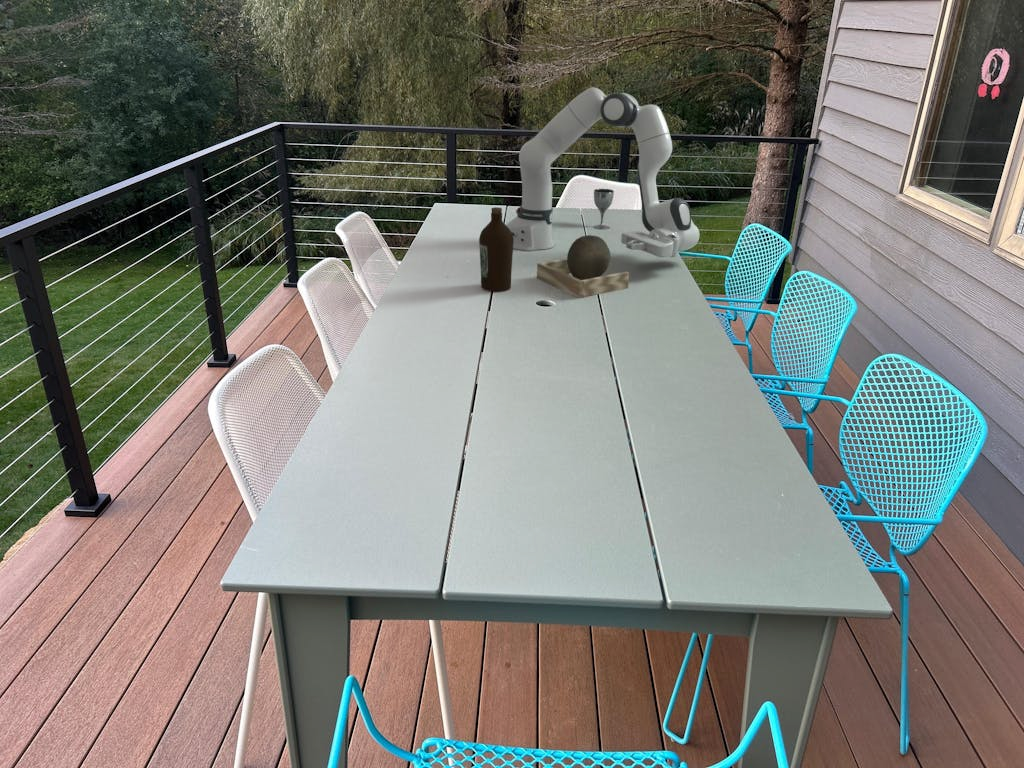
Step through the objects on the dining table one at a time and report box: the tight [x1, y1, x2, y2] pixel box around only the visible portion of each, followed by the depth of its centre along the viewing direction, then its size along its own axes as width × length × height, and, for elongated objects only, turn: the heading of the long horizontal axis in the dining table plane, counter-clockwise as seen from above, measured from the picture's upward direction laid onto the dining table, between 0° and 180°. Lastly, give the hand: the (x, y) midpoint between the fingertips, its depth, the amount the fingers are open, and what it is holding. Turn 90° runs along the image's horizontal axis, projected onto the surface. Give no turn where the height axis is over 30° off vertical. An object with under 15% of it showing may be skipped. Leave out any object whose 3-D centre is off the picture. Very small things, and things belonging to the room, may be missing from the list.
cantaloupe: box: [566, 234, 612, 280], centre depth 246 cm, size 14×14×15 cm
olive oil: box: [478, 207, 514, 293], centre depth 237 cm, size 11×11×25 cm
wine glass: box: [592, 188, 615, 230], centre depth 313 cm, size 8×8×15 cm
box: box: [536, 257, 630, 299], centre depth 247 cm, size 20×23×5 cm
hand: (629, 246), depth 254 cm, fingers closed
